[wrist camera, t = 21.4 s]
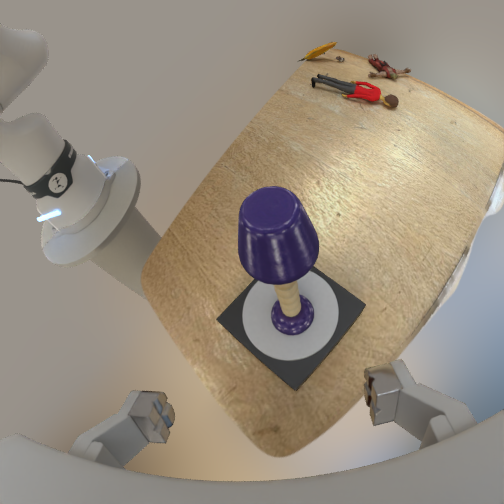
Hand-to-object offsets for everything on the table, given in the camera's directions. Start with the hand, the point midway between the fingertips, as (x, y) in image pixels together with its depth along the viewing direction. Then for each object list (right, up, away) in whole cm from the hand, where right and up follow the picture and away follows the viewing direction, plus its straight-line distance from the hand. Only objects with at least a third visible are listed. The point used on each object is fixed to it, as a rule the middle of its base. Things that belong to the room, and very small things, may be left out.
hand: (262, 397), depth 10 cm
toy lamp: (+4, 0, +18) cm, 18 cm away
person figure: (+13, +41, +41) cm, 59 cm away
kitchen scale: (+4, -2, +21) cm, 21 cm away
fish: (+17, +56, +47) cm, 75 cm away
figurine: (+29, +53, +43) cm, 74 cm away
